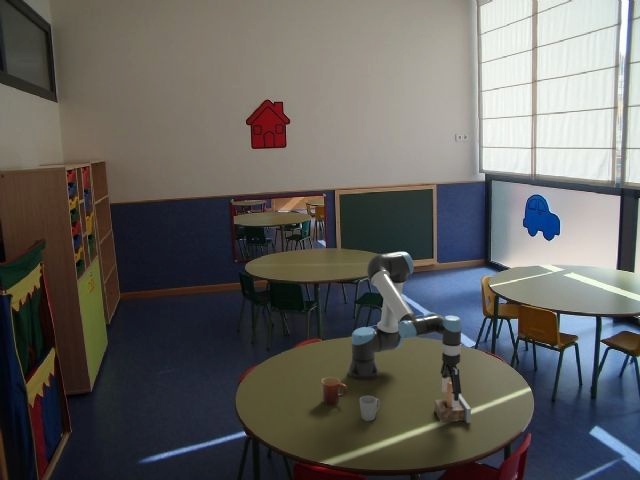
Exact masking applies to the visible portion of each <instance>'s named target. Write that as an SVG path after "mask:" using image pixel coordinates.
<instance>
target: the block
mask: <svg viewBox="0 0 640 480" xmlns="http://www.w3.org/2000/svg"><path fill="white" fill-rule="evenodd" d="M434 412H435V414H436V413H437V414H436V415H437V417H438V419H439V418H440V419H439V421H440V420H441V421H440V422H441V423H447V422H446V421H451V422H457V421H456V420H464V419H465V410H464V408H463V407H462V405H461V404H460V402H459V407H453V408H447V398H446V399H434ZM443 421H445V422H443ZM464 421H465V420H464Z"/></svg>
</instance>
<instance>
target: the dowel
mask: <svg viewBox="0 0 640 480" xmlns="http://www.w3.org/2000/svg"><path fill="white" fill-rule="evenodd" d="M452 392H453V388H452V383H451V381H449V382H448V383H447V392H446V399H447V408H453V407H452Z"/></svg>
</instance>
